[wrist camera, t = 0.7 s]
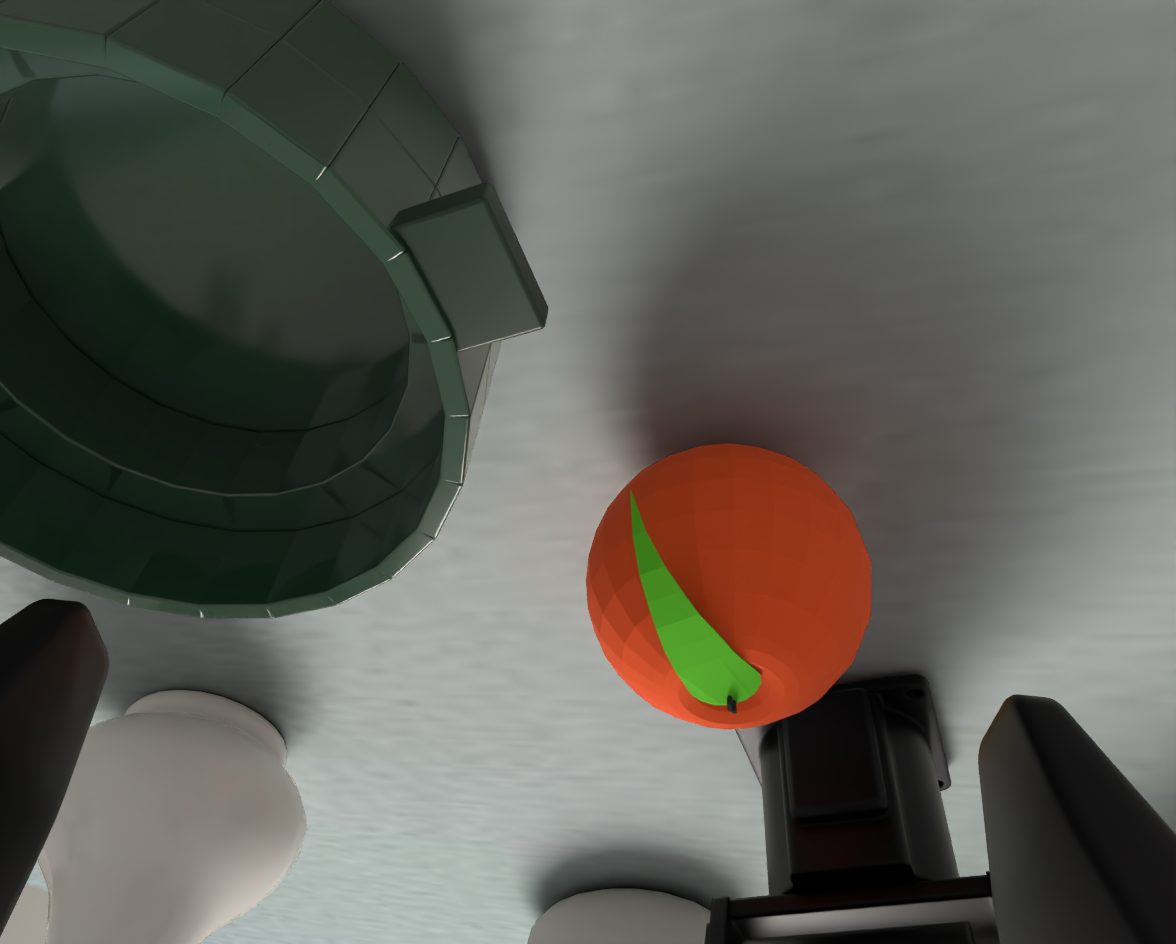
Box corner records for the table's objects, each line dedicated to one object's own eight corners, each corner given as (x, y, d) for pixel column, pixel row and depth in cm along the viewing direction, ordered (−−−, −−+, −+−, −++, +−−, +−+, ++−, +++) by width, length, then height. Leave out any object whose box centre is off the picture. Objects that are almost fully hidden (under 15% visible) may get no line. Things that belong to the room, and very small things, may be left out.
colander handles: (550, 308, 17) (546, 329, 16) (-111, 498, 22) (-131, 520, 21) (491, 177, 15) (484, 196, 15) (-208, 413, 20) (-232, 433, 20)
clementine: (524, 424, 25) (479, 637, 19) (763, 309, 22) (788, 522, 17) (674, 602, 29) (671, 818, 24) (892, 524, 26) (945, 750, 21)
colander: (591, 403, 24) (572, 558, 20) (171, 509, 28) (82, 658, 24) (320, -195, 16) (195, -139, 12) (-217, 69, 20) (-451, 179, 16)
